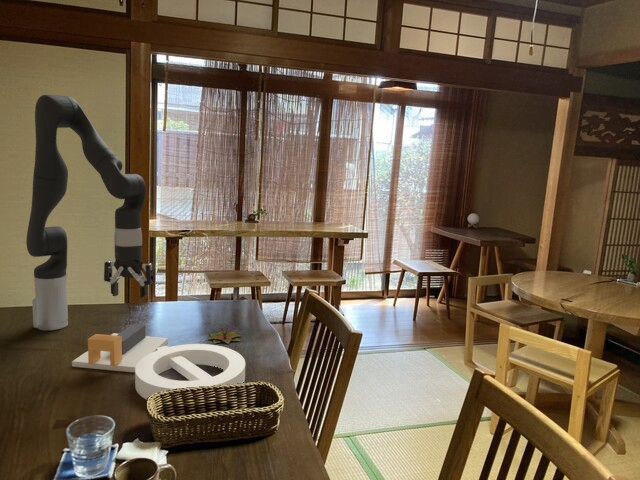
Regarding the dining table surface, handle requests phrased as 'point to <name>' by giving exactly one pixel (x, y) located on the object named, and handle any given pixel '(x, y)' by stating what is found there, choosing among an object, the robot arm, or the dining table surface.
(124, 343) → the long grey rectangular bar
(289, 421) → the dining table surface
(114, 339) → the orange arch block
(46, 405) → the dining table surface
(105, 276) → the robot arm
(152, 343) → the mat
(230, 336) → the lily flower
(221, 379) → the ring with crossbar
